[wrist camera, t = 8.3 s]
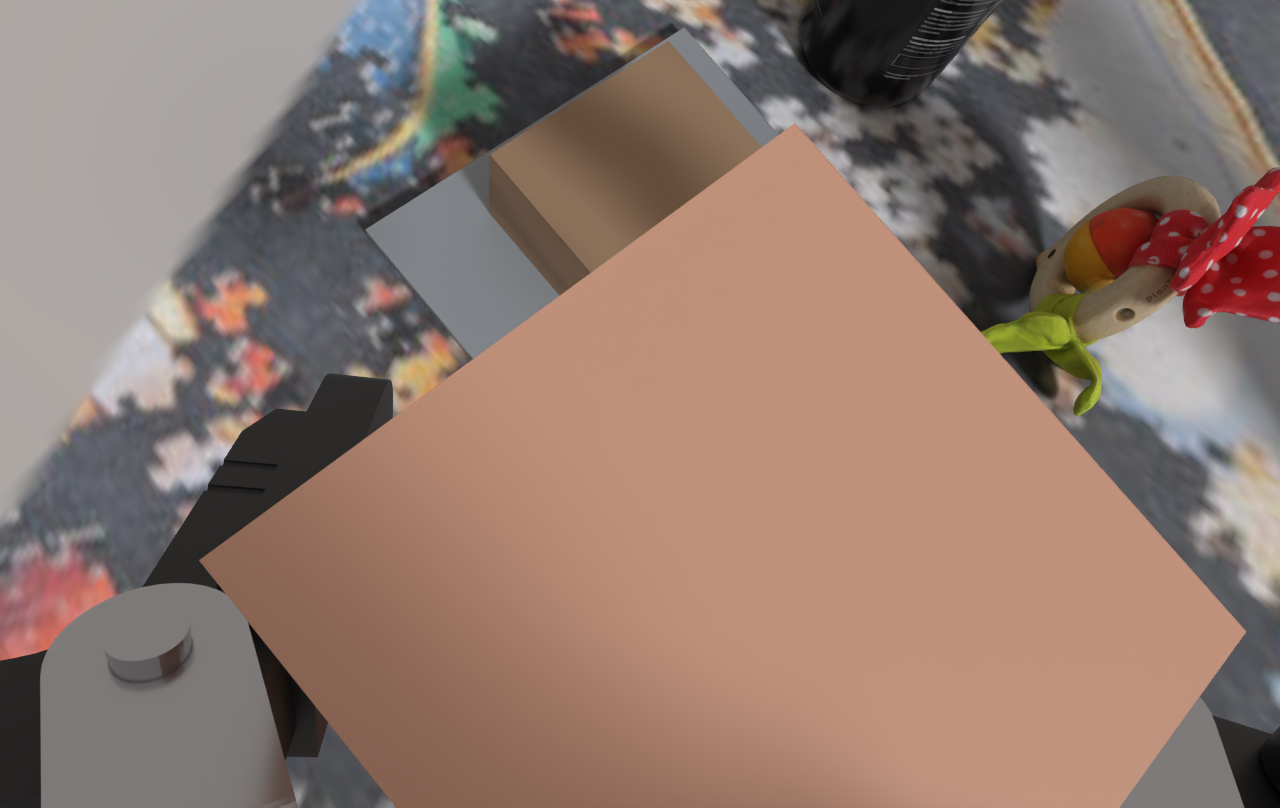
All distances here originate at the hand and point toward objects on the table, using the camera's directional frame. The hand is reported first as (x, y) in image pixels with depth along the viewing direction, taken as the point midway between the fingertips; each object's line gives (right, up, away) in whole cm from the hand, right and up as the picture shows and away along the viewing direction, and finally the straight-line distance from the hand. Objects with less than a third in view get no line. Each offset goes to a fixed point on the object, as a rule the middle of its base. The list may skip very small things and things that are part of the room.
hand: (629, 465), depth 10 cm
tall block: (-1, -3, +4) cm, 5 cm away
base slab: (0, +7, +19) cm, 21 cm away
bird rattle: (+17, +5, +23) cm, 29 cm away
